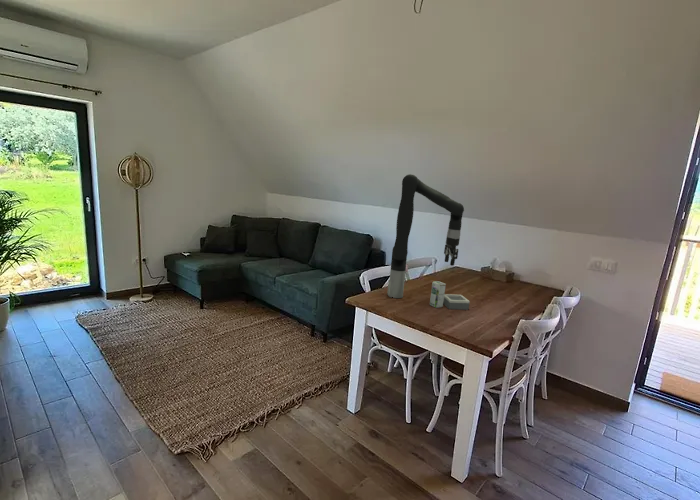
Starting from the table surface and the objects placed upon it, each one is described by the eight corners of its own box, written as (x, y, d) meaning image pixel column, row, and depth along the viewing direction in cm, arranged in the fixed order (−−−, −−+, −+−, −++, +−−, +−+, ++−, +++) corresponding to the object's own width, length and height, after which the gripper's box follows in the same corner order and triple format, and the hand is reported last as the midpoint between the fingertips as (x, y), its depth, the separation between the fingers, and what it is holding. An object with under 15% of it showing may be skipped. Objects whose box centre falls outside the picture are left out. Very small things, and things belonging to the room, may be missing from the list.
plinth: (449, 309, 217) (450, 300, 216) (441, 302, 228) (442, 294, 227) (468, 309, 218) (469, 301, 217) (460, 302, 230) (461, 294, 229)
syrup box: (429, 304, 222) (432, 281, 219) (436, 303, 224) (439, 280, 222) (435, 308, 217) (438, 284, 214) (443, 307, 220) (446, 283, 217)
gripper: (442, 234, 225) (438, 260, 228) (452, 238, 211) (447, 266, 214) (454, 235, 226) (450, 261, 229) (464, 239, 212) (460, 267, 215)
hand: (449, 263), depth 222 cm, fingers open, 8 cm apart
